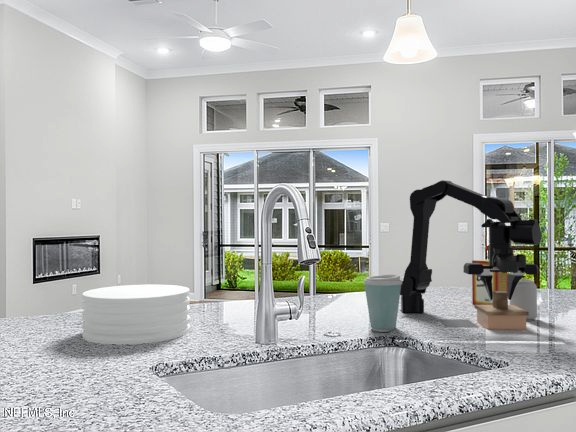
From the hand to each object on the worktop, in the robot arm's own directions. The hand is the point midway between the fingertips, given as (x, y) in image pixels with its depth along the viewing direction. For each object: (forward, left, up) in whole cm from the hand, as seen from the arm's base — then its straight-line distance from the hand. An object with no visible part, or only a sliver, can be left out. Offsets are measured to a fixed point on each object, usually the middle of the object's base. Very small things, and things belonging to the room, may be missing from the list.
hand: (500, 299), depth 143 cm
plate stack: (-100, -10, -8) cm, 101 cm away
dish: (0, 0, -8) cm, 8 cm away
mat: (-11, +3, -8) cm, 14 cm away
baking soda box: (+9, +38, -8) cm, 40 cm away
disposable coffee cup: (-33, -4, -8) cm, 34 cm away
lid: (0, 0, -3) cm, 3 cm away
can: (+11, +13, -8) cm, 19 cm away
